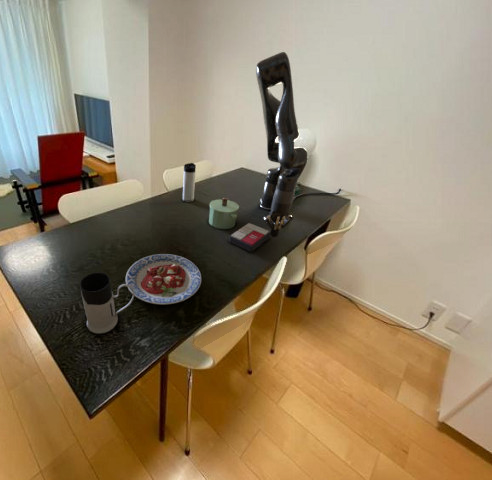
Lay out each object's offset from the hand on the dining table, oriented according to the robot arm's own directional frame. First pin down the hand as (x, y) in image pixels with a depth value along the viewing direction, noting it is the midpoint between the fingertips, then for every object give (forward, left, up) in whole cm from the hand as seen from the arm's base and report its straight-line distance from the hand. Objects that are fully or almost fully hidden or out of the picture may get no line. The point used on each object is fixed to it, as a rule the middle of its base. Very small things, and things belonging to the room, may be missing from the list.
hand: (273, 235), depth 115 cm
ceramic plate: (+51, +21, -2) cm, 55 cm away
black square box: (+11, 0, -2) cm, 11 cm away
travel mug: (+29, -45, -2) cm, 54 cm away
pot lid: (+18, -17, +7) cm, 26 cm away
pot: (+18, -17, -2) cm, 25 cm away
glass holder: (+68, +36, -2) cm, 77 cm away
